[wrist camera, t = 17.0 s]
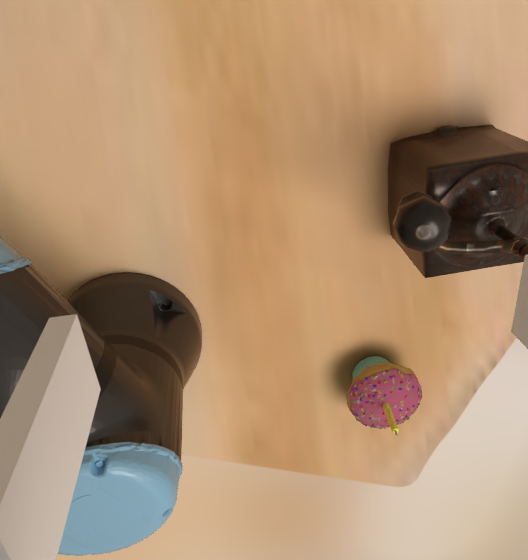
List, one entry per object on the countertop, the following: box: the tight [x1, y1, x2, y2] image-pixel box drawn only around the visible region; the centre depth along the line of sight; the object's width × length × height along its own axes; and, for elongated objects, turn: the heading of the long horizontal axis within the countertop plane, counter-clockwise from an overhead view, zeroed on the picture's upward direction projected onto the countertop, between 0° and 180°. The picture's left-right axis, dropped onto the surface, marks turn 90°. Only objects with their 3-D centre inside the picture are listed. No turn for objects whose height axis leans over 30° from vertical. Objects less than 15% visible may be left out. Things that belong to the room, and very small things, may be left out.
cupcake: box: [347, 356, 422, 436], centre depth 56 cm, size 9×8×12 cm
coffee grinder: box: [388, 125, 528, 278], centre depth 43 cm, size 16×11×18 cm
